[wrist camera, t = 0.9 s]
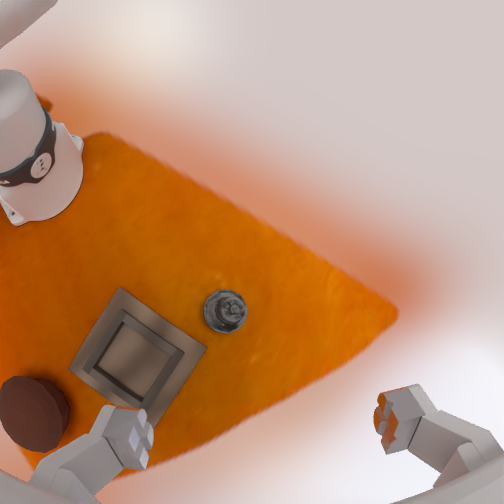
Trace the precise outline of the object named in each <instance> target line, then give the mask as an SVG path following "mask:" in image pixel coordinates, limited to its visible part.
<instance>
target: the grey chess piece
mask: <svg viewBox="0 0 504 504" xmlns="http://www.w3.org/2000/svg"><path fill="white" fill-rule="evenodd" d="M246 317H247V306H246V303H245V301H244V299H243V298H242V297H241V296H240V295H239V294H237V293H236V292H234V291H231V290H219V291H217V292H214V293H213V294H212V295H210V296H209V297H208V299H207V300H206V302H205V305H204V318H205V320H206V322H207V324H208V325H209V326H210V327H211V328H212V329H213V330H215V331H217V332H220V333H231V332H234V331H236V330H238V329H239V328H240V327H241V326H242V325H243V324H244V322H245V320H246Z"/></svg>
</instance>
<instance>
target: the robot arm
mask: <svg viewBox="0 0 504 504" xmlns="http://www.w3.org/2000/svg"><path fill="white" fill-rule="evenodd" d="M57 1H58V0H0V49H1V48H2V47H3V46H4V45H6V44H7V43H9V42H10V41H11V40H13V39H14V38H15V37H17V36H18V35H20V34H21V33H22V32H23V31H24V30H26V29H27V28H28V27H29V26H30V25H31V24H33V23H34V22H35V21H36V20H37V19H39V18H40V17H41V16H42V15H43V14H44V13H46V12H47V11H48V10H49V9H50V8H52V7H53V6H54V5H55V4H56V3H57ZM83 146H84V141H83V140H82V138H81V137H79V136H76V135H73V134H70V133H69V132H68V130H67V128H66V127H65V125H64V124H63V123H58V122H56V121H53V120H52V118H51V116H50V114H49V113H48V112H47V111H46V109H45V108H44V107H43V106H41V105H40V103H39V101H38V99H37V97H36V95H35V93H34V91H33V89H32V87H31V85H30V83H29V80H28V79H27V78H26V77H25V76H24V75H23V74H22V73H20V72H18V71H14V70H0V203H1V205H2V207H3V209H4V211H5V212H6V214H7V216H8V218H9V220H10V221H11V223H12V224H13V225H14V226H20V225H22V224H24V223H26V222H28V221H41V220H46V219H49V218H51V217H53V216H55V215H57V214H59V213H60V212H61V211H63V210H64V209H65V208H66V207H67V206H68V205H69V204H70V203H71V201H72V200H73V199H74V197H75V196H76V194H77V192H78V190H79V188H80V185H81V182H82V177H83V164H82V158H81V154H82V151H83ZM14 212H15V214H14ZM13 214H14V215H13ZM377 402H378V404H379V406H378V407H377V408H376V409H375V411H374V426H375V429H376V432H377V433H378V434H380V435H382V439H381V443H382V446H383V448H384V450H385V453H386V454H391V453H395V452H399V451H402V450H405V449H408V451H409V452H411V453H412V454H414V455H415V456H417V457H418V458H419V459H421V460H422V461H424V462H425V463H427V464H428V465H430V466H431V467H432V468H434V469H435V470H437V471H438V472H440V473H441V474H440V476H439V477H438V479H437V480H436V482H435V483H434V485H433V487H434V488H433V489H431V490H428V491H426V492H423V493H420V494H418V495H415V496H413V497H409V498H406V499H403V500H401V501H397V502H394V503H391V504H504V451H503V449H502V448H501V447H500V445H499V444H498V442H497V441H496V440H495V438H494V437H493V435H492V434H491V433H490V431H489V430H486V429H484V428H481V427H479V426H476V425H474V424H472V423H469V422H467V421H465V420H462V419H460V418H458V417H456V416H453V415H451V414H449V413H446V412H444V411H442V410H440V411H437V409H436V408H435V406H434V405H433V403H432V402H431V400H430V399H429V397H428V396H427V395H426V393H425V392H424V391H423V389H422V387H421V386H420V385H419V384H415V385H411V386H407V387H403V388H399V389H395V390H391V391H387V392H383V393H380V394H379V396H378V399H377ZM146 419H147V414H146V412H145V410H144V409H138V408H130V407H122V406H113V405H104V406H103V407H102V409H101V411H100V413H99V415H98V416H97V418H96V420H95V422H94V424H93V426H92V428H91V430H90V432H89V434H84V435H82V436H80V437H79V438H77V439H75V440H74V441H72V442H70V443H69V444H67V445H65V446H64V447H62V448H60V449H59V450H57V451H55V452H53V453H52V454H50V455H48V456H46V457H45V458H43V459H41V460H40V462H39V464H38V466H37V467H36V469H35V471H34V473H33V475H32V477H31V479H30V480H29V482H28V483H27V482H25V481H23V480H21V479H19V478H17V477H15V476H12V475H11V474H9V473H6V472H4V471H3V470H1V469H0V504H100V502H99V501H98V500H97V499H96V498H95V497H94V495H95V494H96V493H97V492H99V491H100V490H101V489H102V488H103V487H104V486H105V485H106V484H108V483H109V482H110V481H111V480H112V479H113V478H114V477H115V476H117V475H118V474H119V473H120V472H121V471H122V470H123V469H124V468H131V469H138V470H145V469H146V466H147V463H148V459H149V455H148V453H147V451H148V450H149V449H151V448H152V445H153V440H154V433H153V429H152V426H151V424H150V423H148V422H147V421H146ZM123 467H124V468H123Z"/></svg>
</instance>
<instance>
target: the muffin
mask: <svg viewBox="0 0 504 504" xmlns="http://www.w3.org/2000/svg"><path fill="white" fill-rule="evenodd" d="M69 412H70V407H69V405H68V404H67V402H66V400H65V397H64V394H63V392H62V391H61V390H59V389H58V388H56V387H55V386H54V385H53V384H52V383H51V382H50V381H41V380H36V379H31V378H29V377H26V376H13V377H11V378H10V379H8V380H7V381H6V382H4V383H3V385H2V388H1V390H0V420H1V422H2V425H3V427H4V429H5V431H6V432H7V434H8V435H9V436H10V437H11V439H12V440H13V441H14V442H15V443H17V444H19V445H20V446H22V447H24V448H25V449H27V450H30V451H35V452H42V453H46V452H48V451H50V450H52V449H54V448H56V447H57V445H58V443H59V441H60V439H61V437H62V435H63V433H64V431H65V429H66V427H67V425H68V420H69Z"/></svg>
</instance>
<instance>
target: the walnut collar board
mask: <svg viewBox="0 0 504 504" xmlns="http://www.w3.org/2000/svg"><path fill="white" fill-rule="evenodd" d="M206 349H207V347H206V346H204V345H203V344H201V343H200V342H198V341H196V340H195V339H193V338H192V337H190V336H189V335H187V334H186V333H184V332H183V331H181V330H180V329H178V328H177V327H175V326H174V325H173V324H171V323H170V322H168V321H167V320H165V319H164V318H162V317H161V316H160V315H158V314H157V313H155V312H154V311H153V310H151V309H150V308H148V307H147V306H146V305H144V304H143V303H142V302H140V301H139V300H137V299H136V298H135V297H133V296H132V295H131V294H129V293H128V292H127V291H125V290H124V289H123V288H122V287H119V289H118V290H117V292H116V293H115V294H114V296H113V297H112V299H111V300H110V302H109V303H108V305H107V307H106V308H105V310H104V311H103V313H102V314H101V316H100V317H99V319H98V320H97V322H96V324H95V325H94V327H93V328H92V330H91V332H90V333H89V335H88V336H87V338H86V340H85V341H84V343H83V345H82V346H81V348H80V350H79V351H78V353H77V355H76V356H75V358H74V360H73V361H72V363H71V365H70V366H69V368H68V369H69V370H70V371H71V372H73V373H74V374H75V375H76V376H77V377H79V378H80V379H81V380H82V381H84V382H85V383H86V384H88V385H89V386H90V387H91V388H93V389H94V390H95V391H97V392H98V393H99V394H101V395H102V396H103V397H105V398H106V399H108V400H109V401H110V402H112V403H113V404H115V405H116V406H122V407H130V408H138V409H144V410H145V412H146V414H147V419H146V421H147V422H148V423H150V424H151V426H152V429H154V427H155V426H156V424H157V423H158V422H159V420H160V419H161V417H162V416H163V414H164V413H165V411H166V410H167V408H168V407H169V405H170V404H171V402H172V401H173V399H174V398H175V396H176V394H177V393H178V391H179V390H180V388H181V387H182V385H183V384H184V382H185V381H186V379H187V378H188V376H189V375H190V373H191V372H192V370H193V369H194V367H195V366H196V364H197V363H198V361H199V360H200V358H201V357H202V355H203V353H204V352H205V350H206Z"/></svg>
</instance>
